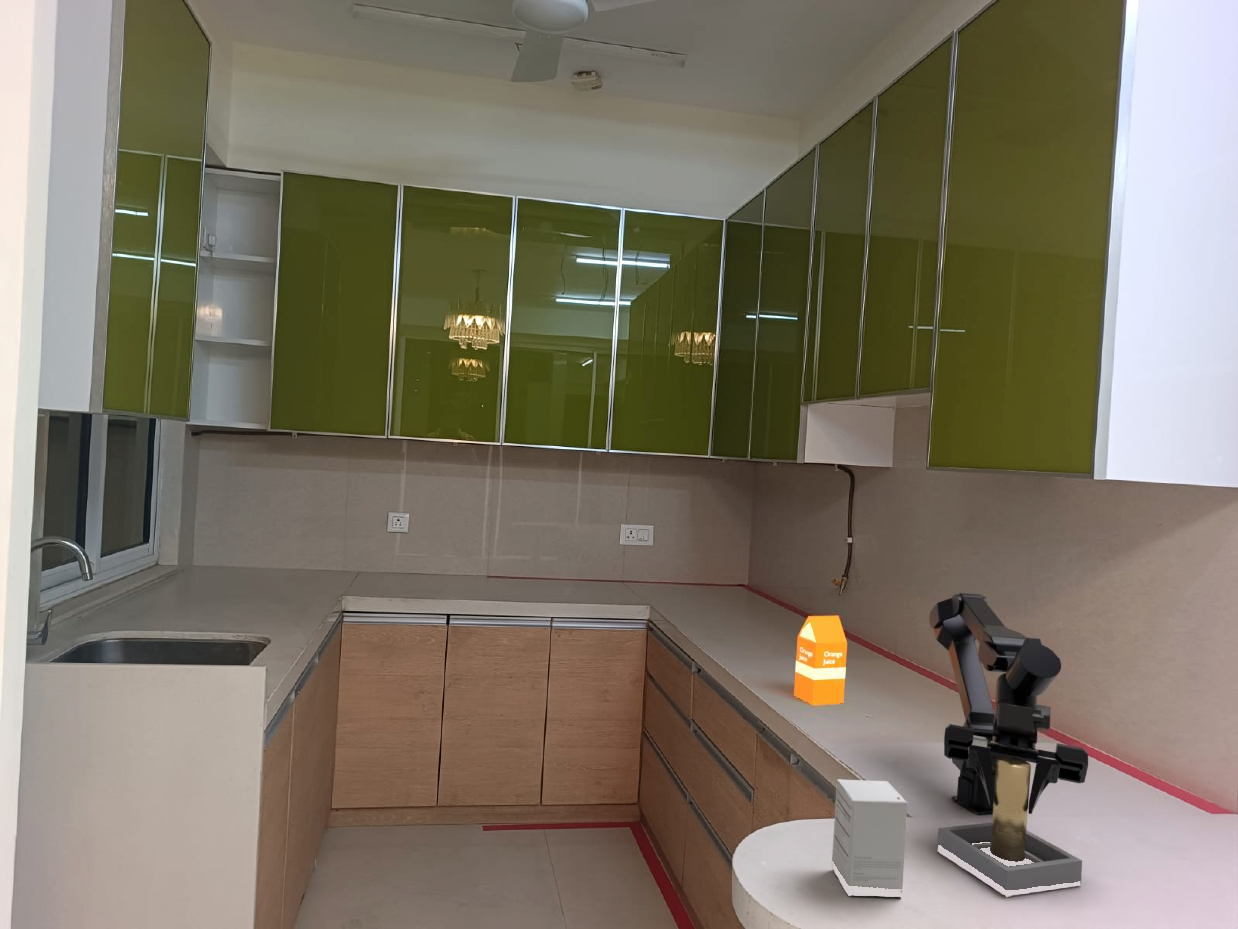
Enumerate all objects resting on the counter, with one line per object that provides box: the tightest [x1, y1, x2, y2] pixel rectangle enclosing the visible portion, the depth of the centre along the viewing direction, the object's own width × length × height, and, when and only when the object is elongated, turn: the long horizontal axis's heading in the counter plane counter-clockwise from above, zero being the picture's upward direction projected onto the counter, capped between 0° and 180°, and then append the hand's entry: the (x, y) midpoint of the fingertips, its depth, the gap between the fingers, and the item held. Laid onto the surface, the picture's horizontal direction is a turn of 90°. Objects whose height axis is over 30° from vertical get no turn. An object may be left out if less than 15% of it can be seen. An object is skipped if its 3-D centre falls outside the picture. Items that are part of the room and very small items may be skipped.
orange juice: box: [793, 615, 848, 706], centre depth 201 cm, size 8×9×20 cm
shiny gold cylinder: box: [990, 757, 1032, 862], centre depth 119 cm, size 4×4×13 cm
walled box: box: [937, 821, 1083, 890], centre depth 119 cm, size 13×13×4 cm
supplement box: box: [831, 778, 908, 890], centre depth 112 cm, size 7×7×13 cm
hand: (1010, 808), depth 118 cm, fingers open, 5 cm apart
